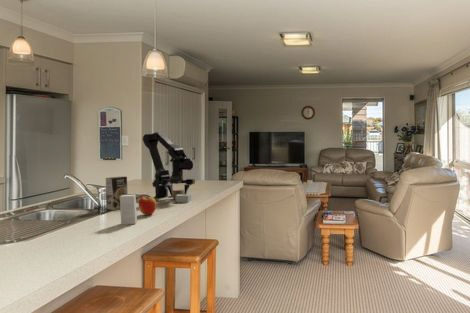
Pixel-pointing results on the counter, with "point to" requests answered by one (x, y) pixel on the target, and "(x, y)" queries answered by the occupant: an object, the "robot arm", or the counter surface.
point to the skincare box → (128, 209)
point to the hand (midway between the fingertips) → (178, 196)
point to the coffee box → (115, 191)
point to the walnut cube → (176, 192)
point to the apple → (147, 205)
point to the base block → (183, 198)
